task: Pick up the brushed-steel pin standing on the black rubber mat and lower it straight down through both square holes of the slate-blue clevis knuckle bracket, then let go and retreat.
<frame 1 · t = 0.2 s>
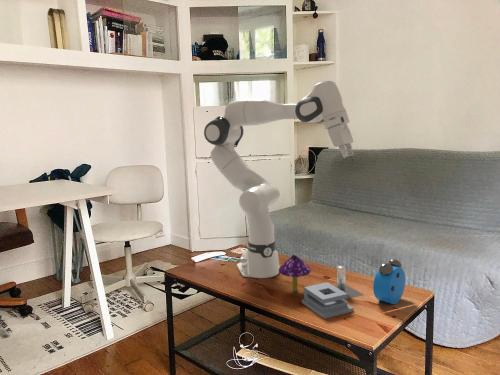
hand: (348, 156, 153), 51 cm above the table, tool tilted 20°, fingers open, 8 cm apart
rubber mat: (341, 293, 153), on the table
clevis bracket: (326, 307, 141), on the table
alarm clock: (389, 302, 144), on the table
steel pin: (341, 292, 153), resting on rubber mat
decorative mushroom: (295, 292, 155), on the table
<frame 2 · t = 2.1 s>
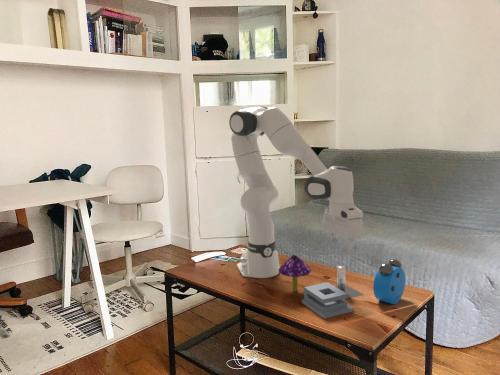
hand: (341, 246, 150), 19 cm above the table, tool pointing down, fingers open, 8 cm apart
nothing on the table moved.
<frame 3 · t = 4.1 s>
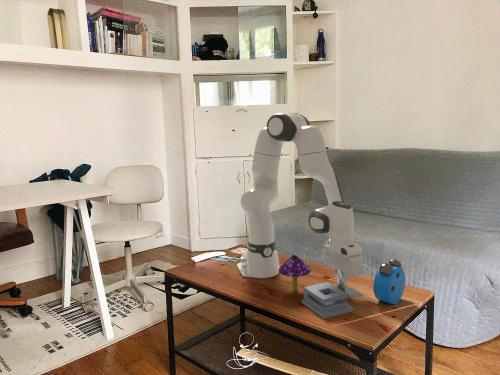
hand: (341, 280, 152), 5 cm above the table, tool pointing down, fingers closed on steel pin, 3 cm apart
steel pin: (341, 292, 153), resting on rubber mat, touching gripper
everything else where it was.
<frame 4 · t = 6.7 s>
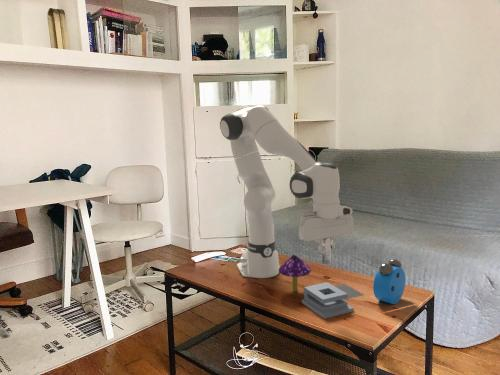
hand: (326, 249, 138), 21 cm above the table, tool pointing down, fingers closed on steel pin, 3 cm apart
steel pin: (326, 262, 138), point 16 cm above the table, touching gripper
everything else where it was.
when the fingers open (7 cm above the table, at t = 9.5 s): steel pin stays where it is, resting on clevis bracket.
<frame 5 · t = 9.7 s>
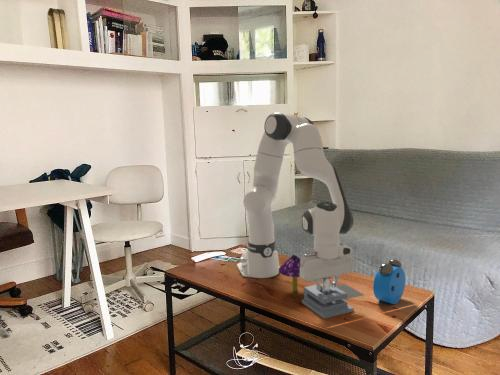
hand: (326, 288, 140), 7 cm above the table, tool pointing down, fingers open, 5 cm apart
steel pin: (326, 303, 141), point 2 cm above the table, touching clevis bracket
everything else where it was.
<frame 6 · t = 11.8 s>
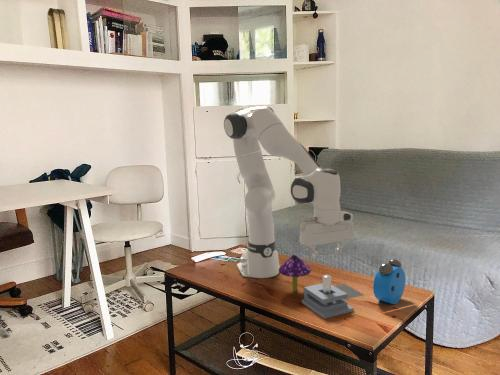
hand: (326, 255, 138), 19 cm above the table, tool pointing down, fingers open, 8 cm apart
nothing on the table moved.
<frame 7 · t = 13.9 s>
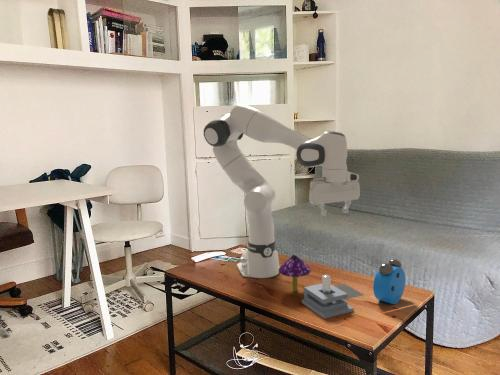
hand: (334, 213, 147), 31 cm above the table, tool pointing down, fingers open, 8 cm apart
nothing on the table moved.
at the end: steel pin 0.1 cm off-centre on the clevis bracket, point 1.5 cm above the clevis bracket's base; steel pin tilted 1°; the gripper is holding nothing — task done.
